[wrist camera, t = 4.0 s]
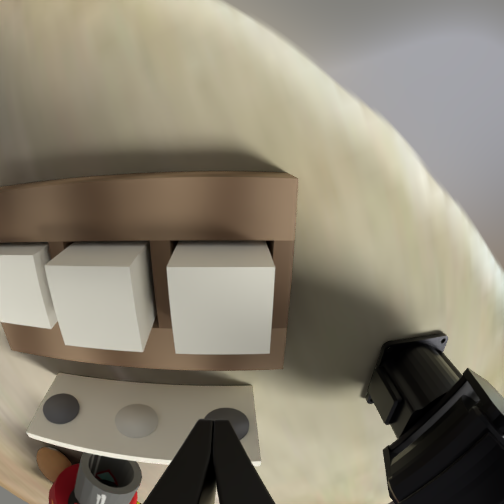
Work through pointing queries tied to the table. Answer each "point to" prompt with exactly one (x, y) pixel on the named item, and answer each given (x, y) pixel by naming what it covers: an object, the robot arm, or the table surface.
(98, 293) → the button mid
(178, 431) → the card
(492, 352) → the table surface
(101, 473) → the toy
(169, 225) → the board
